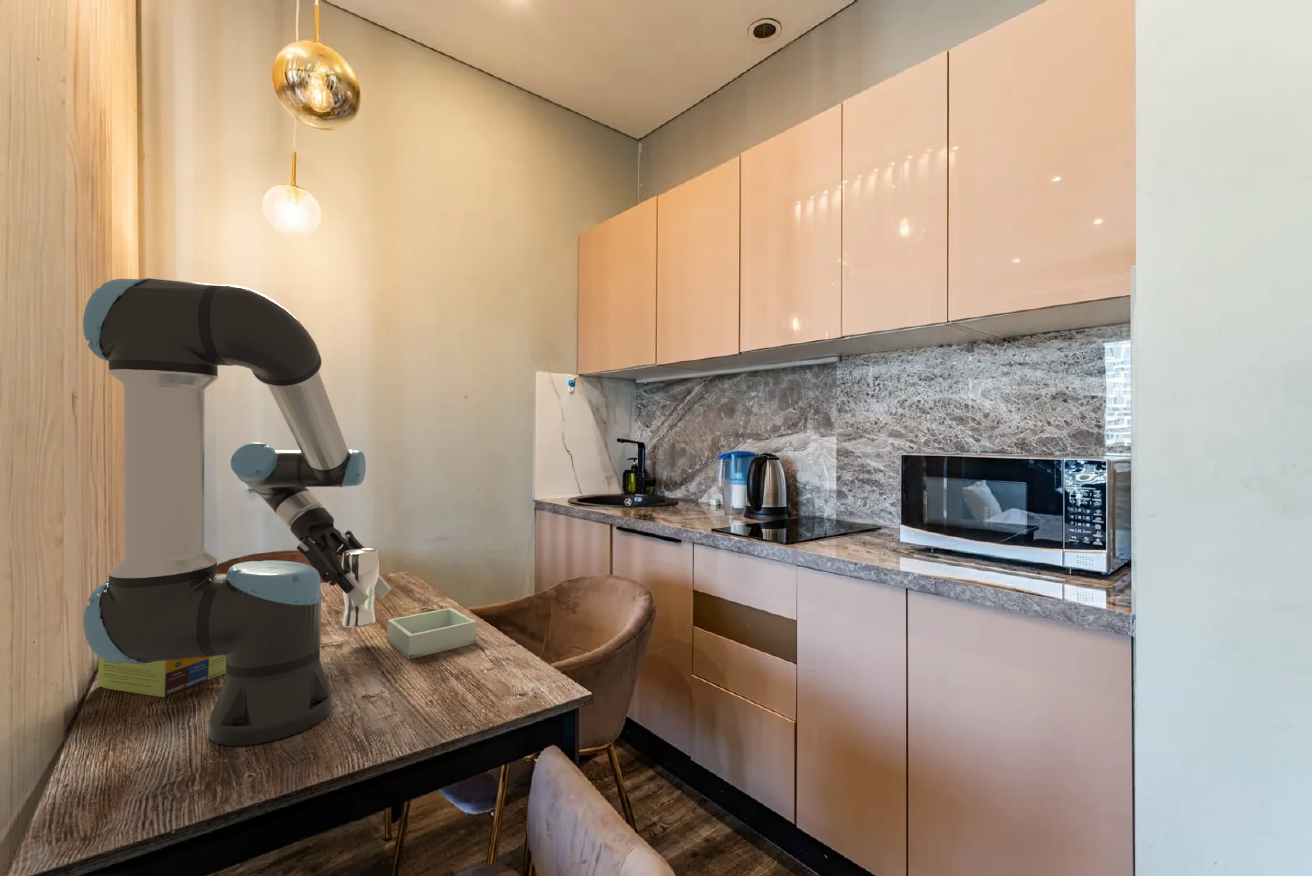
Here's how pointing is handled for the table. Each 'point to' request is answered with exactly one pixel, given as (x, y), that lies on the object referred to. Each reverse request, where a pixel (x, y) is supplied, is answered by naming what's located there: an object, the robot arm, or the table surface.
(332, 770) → the table surface
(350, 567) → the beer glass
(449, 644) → the bin
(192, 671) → the protein box
